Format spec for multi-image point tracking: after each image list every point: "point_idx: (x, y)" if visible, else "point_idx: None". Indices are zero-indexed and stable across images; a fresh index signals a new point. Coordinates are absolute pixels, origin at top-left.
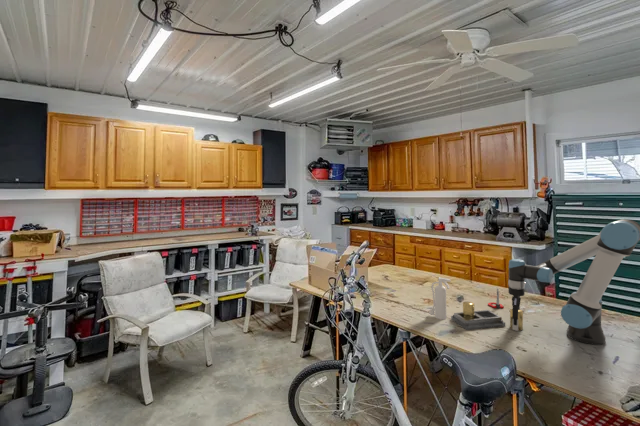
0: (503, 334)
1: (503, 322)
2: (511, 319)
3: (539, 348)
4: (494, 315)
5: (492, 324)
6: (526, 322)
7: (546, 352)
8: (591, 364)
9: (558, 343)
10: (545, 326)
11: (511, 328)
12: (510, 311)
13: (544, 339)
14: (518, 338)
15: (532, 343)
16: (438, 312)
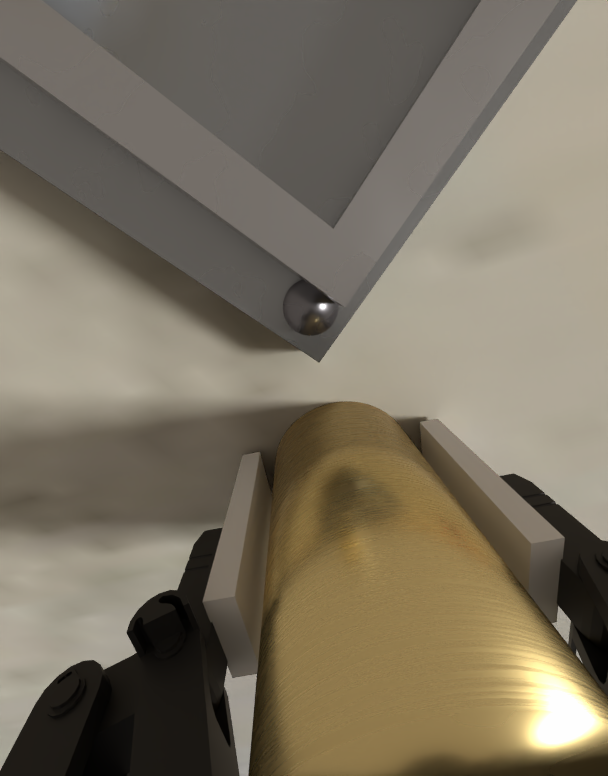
0: (23, 417)
1: (306, 339)
2: (284, 517)
3: (27, 697)
4: (416, 99)
5: (93, 208)
6: (594, 494)
7: (5, 734)
8: None
9: (247, 742)
10: (566, 627)
11: (286, 432)
12: (335, 683)
13: (246, 681)
14: (70, 552)
15: (75, 649)
16: None
